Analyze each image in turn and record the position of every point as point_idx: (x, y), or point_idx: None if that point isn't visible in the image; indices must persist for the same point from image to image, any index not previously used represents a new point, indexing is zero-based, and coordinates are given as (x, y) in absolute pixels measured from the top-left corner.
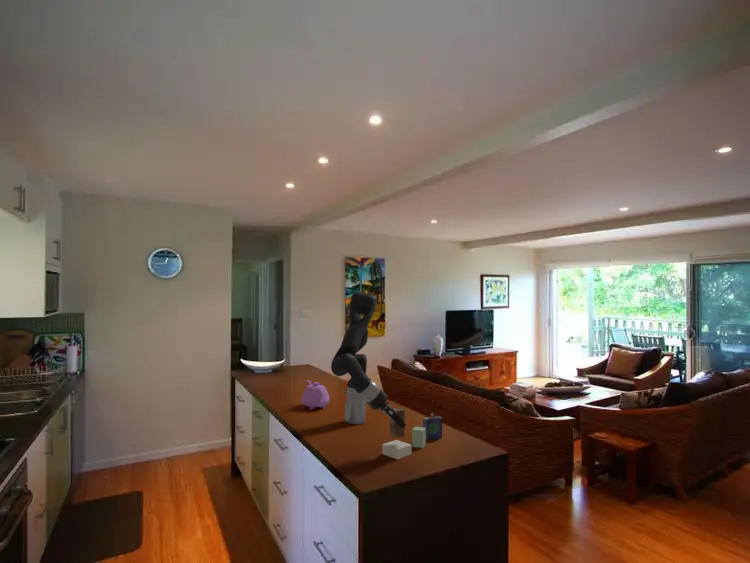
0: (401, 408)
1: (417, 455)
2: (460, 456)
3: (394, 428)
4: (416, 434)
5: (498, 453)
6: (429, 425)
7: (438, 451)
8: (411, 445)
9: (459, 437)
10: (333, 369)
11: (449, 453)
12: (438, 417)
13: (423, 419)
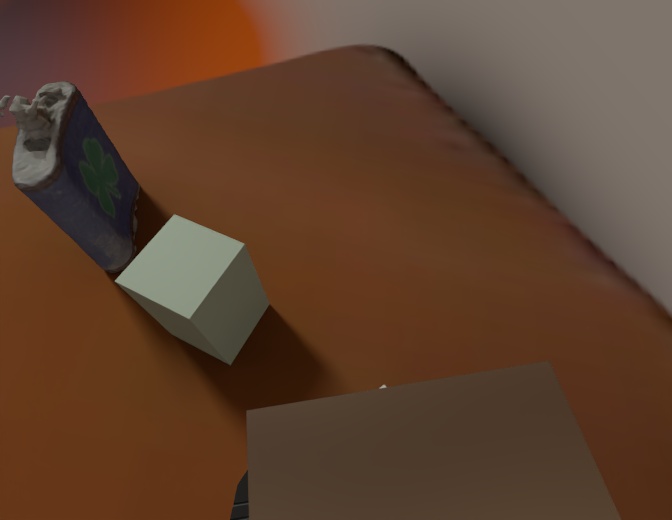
0: (311, 408)
1: (398, 363)
2: (409, 164)
3: None
4: (223, 304)
5: (373, 53)
6: (87, 183)
7: (334, 236)
8: (384, 386)
9: (154, 116)
10: None
11: (367, 196)
12: (60, 95)
13: (37, 187)
